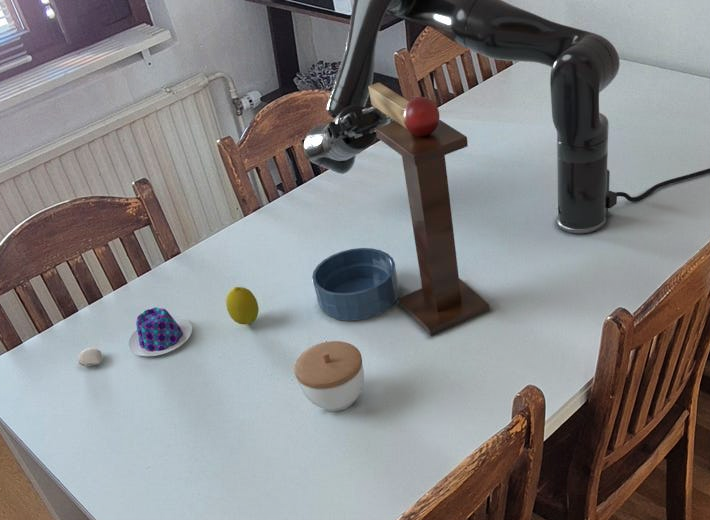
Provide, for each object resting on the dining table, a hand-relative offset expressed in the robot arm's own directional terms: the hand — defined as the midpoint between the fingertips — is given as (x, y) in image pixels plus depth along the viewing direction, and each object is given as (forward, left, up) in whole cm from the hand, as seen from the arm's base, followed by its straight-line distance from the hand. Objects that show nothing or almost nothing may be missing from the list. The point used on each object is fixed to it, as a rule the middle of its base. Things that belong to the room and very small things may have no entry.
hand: (377, 110), depth 134 cm
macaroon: (+54, -25, -31) cm, 67 cm away
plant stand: (+4, +15, -31) cm, 34 cm away
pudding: (+42, -21, -31) cm, 56 cm away
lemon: (+29, -11, -31) cm, 44 cm away
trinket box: (+32, +19, -31) cm, 48 cm away
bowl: (+11, 0, -31) cm, 33 cm away
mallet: (+3, +10, +1) cm, 10 cm away
